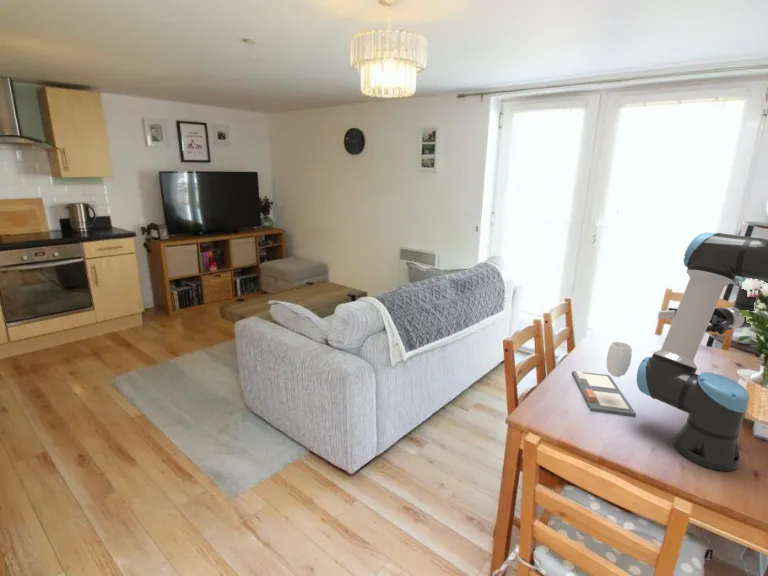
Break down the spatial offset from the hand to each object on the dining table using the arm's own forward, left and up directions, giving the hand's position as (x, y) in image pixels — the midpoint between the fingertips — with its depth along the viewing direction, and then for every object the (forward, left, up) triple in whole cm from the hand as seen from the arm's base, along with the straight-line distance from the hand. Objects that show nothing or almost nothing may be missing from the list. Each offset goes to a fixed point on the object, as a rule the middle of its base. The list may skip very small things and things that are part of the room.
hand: (675, 321), depth 141 cm
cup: (-8, +19, -29) cm, 35 cm away
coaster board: (-2, +20, -30) cm, 36 cm away
